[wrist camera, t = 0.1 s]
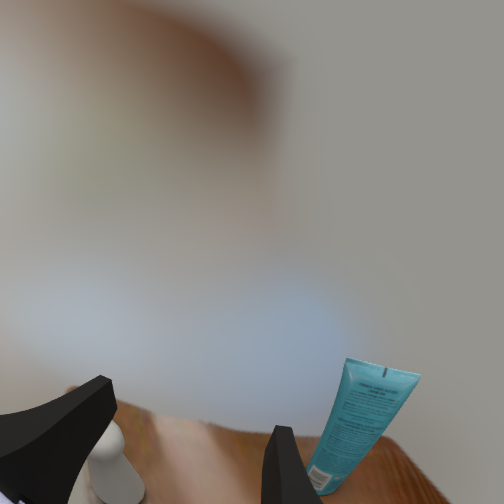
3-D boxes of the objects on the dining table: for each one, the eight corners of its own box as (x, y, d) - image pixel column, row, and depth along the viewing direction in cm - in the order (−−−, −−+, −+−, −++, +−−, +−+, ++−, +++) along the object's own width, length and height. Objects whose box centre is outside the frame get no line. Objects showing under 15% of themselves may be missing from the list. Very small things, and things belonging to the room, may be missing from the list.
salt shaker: (155, 510, 16) (140, 453, 14) (105, 516, 13) (66, 459, 10) (137, 471, 21) (121, 401, 18) (92, 476, 17) (60, 404, 15)
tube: (347, 473, 24) (416, 360, 21) (343, 499, 20) (427, 388, 16) (295, 463, 27) (347, 347, 23) (286, 489, 22) (346, 374, 18)
